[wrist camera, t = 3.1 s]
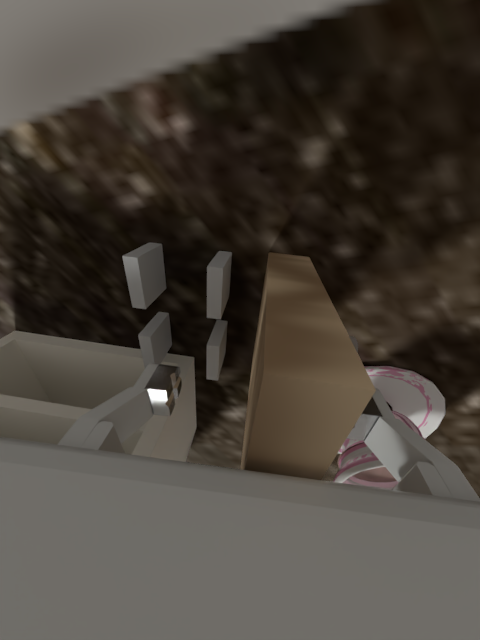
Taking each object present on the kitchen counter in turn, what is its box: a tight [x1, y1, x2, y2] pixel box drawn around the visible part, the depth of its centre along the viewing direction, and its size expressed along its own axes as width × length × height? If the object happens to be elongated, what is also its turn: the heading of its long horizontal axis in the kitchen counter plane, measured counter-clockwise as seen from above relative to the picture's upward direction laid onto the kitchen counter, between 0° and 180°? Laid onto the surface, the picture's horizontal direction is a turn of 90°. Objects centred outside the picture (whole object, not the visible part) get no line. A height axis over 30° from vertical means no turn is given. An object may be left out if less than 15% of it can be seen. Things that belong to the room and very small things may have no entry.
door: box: [241, 252, 376, 480], centre depth 11 cm, size 3×8×10 cm, turn 175°
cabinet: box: [0, 242, 232, 462], centre depth 14 cm, size 19×19×12 cm
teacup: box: [333, 366, 446, 490], centre depth 17 cm, size 12×12×6 cm
